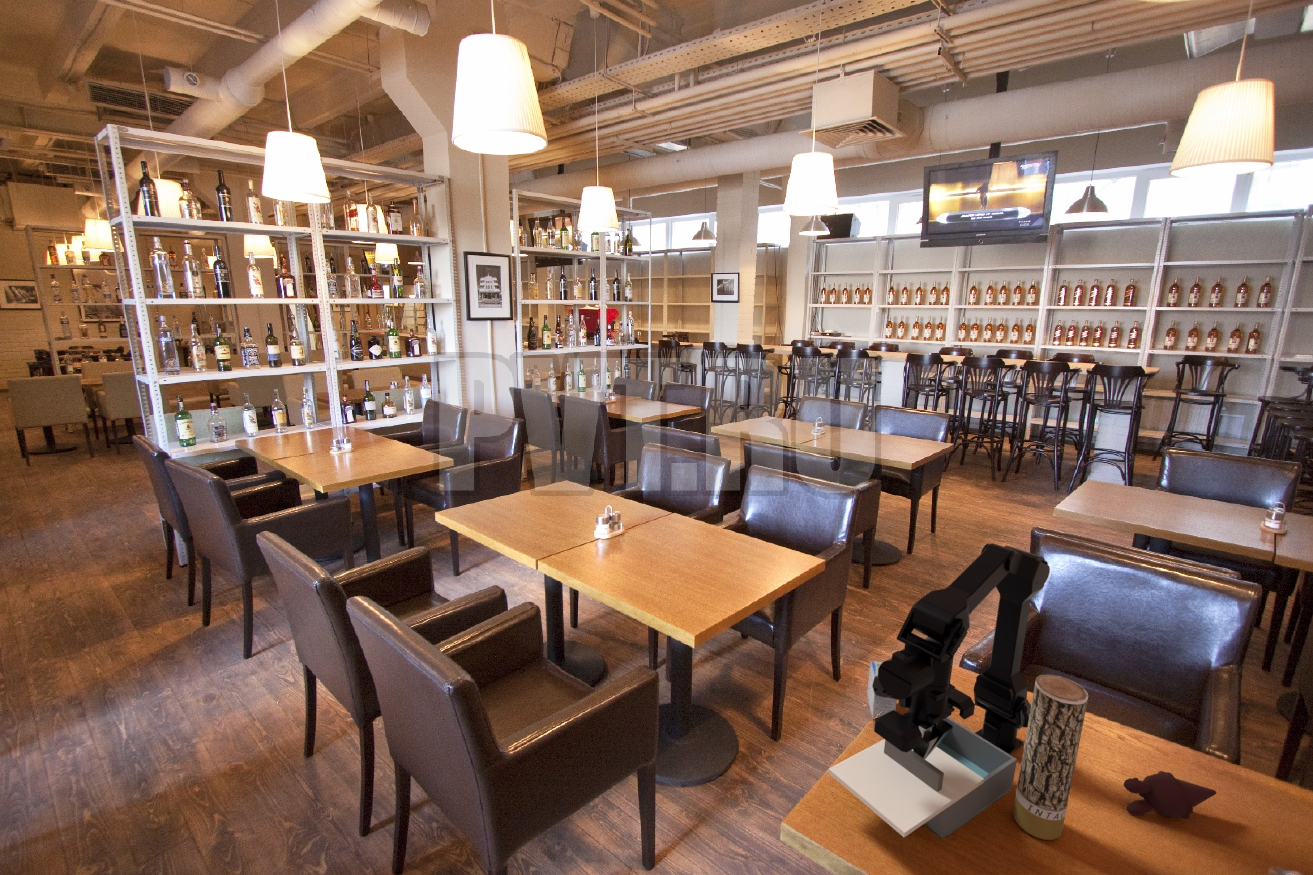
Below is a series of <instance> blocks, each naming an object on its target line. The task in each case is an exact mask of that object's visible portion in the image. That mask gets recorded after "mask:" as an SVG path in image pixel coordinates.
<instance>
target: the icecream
mask: <svg viewBox="0 0 1313 875" xmlns="http://www.w3.org/2000/svg"><path fill="white" fill-rule="evenodd" d="M1123 787H1124V788H1125V790H1127V791H1128V792H1130V793H1132V794H1136V795H1137V794H1138V796H1140V797H1141V798H1143V799H1135V800H1133V801H1131V802H1129V803H1128V804H1127V805H1126V811H1127V812H1128V813H1129V814H1131V815H1133V816H1144V815H1146V814H1148V813H1150V812H1151V811H1153V810H1154V811H1155V812H1157V813H1158V814H1159V815H1162V816H1164V817H1167V818H1175V819H1176V818H1177V819H1178V818H1179V819H1183V820H1189V819H1190V816H1191V814H1192V813H1193V812H1194V808H1195V807H1196V806H1199V805H1200V804H1201V803H1203V802H1205V801H1206V800H1208V799H1210V798H1212V797H1214V796H1215V795H1217V791H1216V790H1215V789H1212V788H1209V787H1206V786H1202V785H1199V784H1195V783H1193V782H1189V781H1185V780H1182V779H1179V778H1176V777H1175V776H1174V775H1173V774H1172V773H1171V772H1165V771H1162V770H1160V771H1158V773H1155V774H1151V775H1147V776H1145V777H1144V778H1143V780H1139V778H1138V777H1133V778H1127V779H1125V780H1124V782H1123Z"/></svg>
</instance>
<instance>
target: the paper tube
mask: <svg viewBox="0 0 1313 875" xmlns="http://www.w3.org/2000/svg"><path fill="white" fill-rule="evenodd" d="M1088 700H1089V694H1088V692H1087V690H1086V689H1085V688H1084V687H1083V686H1082V685H1080V684H1078V683H1077V682H1075V681H1073V680H1071V679H1069V678H1066V677H1064V676H1060V675H1056V674H1040V675H1038V676H1036V678H1035V682H1034V686H1033V693H1032V698H1031V703H1030V704H1031V709H1030V715H1029V721H1028V727H1027V728H1026V734H1025V740H1024V743H1023V752H1022V756H1021V762H1020V769H1019V772H1018V773H1019V774H1018V780H1017V785H1016V792H1015V799H1014V802H1013V803H1014V804H1013V810H1012V813H1013V818H1014V820H1015V822H1016V824H1018V826H1019V827H1020V828H1021V829H1022V830H1023V831H1024V832H1025V833H1027V834H1029V835H1031V836H1032V837H1035V838H1037V839H1040V840H1044V841H1053V840H1054V841H1055V840H1056V839H1058V838H1060V837H1061V835H1062V833H1063V828H1064V823H1065V817H1066V814H1067V808H1068V803H1069V798H1070V793H1071V788H1072V784H1073V777H1074V772H1075V767H1076V764H1077V763H1076V762H1077V758H1078V757H1077V756H1078V752H1079V747H1080V741H1081V737H1082V731H1083V728H1084V727H1083V726H1084V720H1085V717H1086V716H1085V715H1086V709H1087V705H1088Z"/></svg>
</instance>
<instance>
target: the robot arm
mask: <svg viewBox="0 0 1313 875" xmlns="http://www.w3.org/2000/svg"><path fill="white" fill-rule="evenodd" d="M1050 572H1051V568H1050V565H1049V563H1048V561H1047V560H1045V558H1044V556H1041V555H1038V554H1036V553H1032V552H1029V551H1025V550H1022V549H1019V548H1017V547H1014V546H1010V545H1005V546H1002V545H1000V544H997V543H994V542H993V543H988V542H987V543H986V544H984V546H983V547H982V550H981V552H980V554H979V555H978V556H977V557H976V558H975V559H974V560H973V561H972V562H971V563H970V564H969V565H968V566H967V567H966V568H965V569H964V570H963V571H962V572H961V573H960V574H959V575H958V576H957V577H956V578H955V579H954V580H952V582H951V583H950V584H949V585H948V586H947V587H945V588H941V589H935V590H931V591H930V592H927V593H926V594H925V595H923V596H922V597H921V598H920V599H918V600H917V601H916V602H914V604H913V605H912V606H911V609H910V610H909V611H908V612H909V613H907V614H908V615H907V616H906V618H905V620H904V622H903V624H902V626H901V628H900V631H899V632H898V634H897V635H896V640H897V641H899V642H900V643H902V644H904V648H903V649H901V650H897V651H894V652H893V653H892V654H891V657H889V658H888V659H887V660H884V661H882V662H883V663H882V664H881V665H880V667H879V668H878V676H876V677H874V681H873V685H872V687H873V690H874V693H875V694H876V695H877V696H881V697H884V698H887V697H888V698H892V699H896V700H897V701H898V704H897V705H898V706H899V707H902V708H903V709H908V711H907V712H905V713H903V714H901V713H899V712H897V710H896V711H895V710H892V711H889V712H887V713H885V714H883V715H881V716H879V717H877V718H875V719H874V722H873V732H874V733H876V735H878V736H880V737H881V738H882V739H885V740H886V741H888V742H889V743H891V744H892V745H893V746H895V747H896V748H898V749H899V750H900V751H902V752H909V751H911V750H912V749H913V751H914V752H915V753H916V754H918V755H919V756H921V757H922V758H924V759H926V758H927V757H928V756H929V754H930V753H931V752H932V751H933V750H934V748H935V747H936V746H937V745H938V744H939V743H940V742H941V740H942V739H943V738H944V737H945V736H946V735H947V734H948V733H949V732H950V731H951V730H952V729H953V726H952V725H951V724H949V723H948V722H946V721H945V719H946V718H947V717H950V716H952V713H954V712H955V709H957V710H959V714H958V716H959V717H960V718H961V719H963V720H964V721H965V720H967V719H968V718H970V717H973V716H974V713H975V708H976V707H979V708H981V709H983V710H985V711H984V718H983V724H982V728H980V729H978V730H977V731H975V732H974V733H975V734H977V735H979V736H980V737H982V738H983V739H985V740H987V741H988V742H990V743H992V744H993V745H995V746H996V747H998V748H1000V749H1001V750H1003V751H1005V752H1006V753H1008V754H1009V755H1012V753H1014V752H1015V751H1017V750H1018V749H1020V748H1021V747H1024V742H1023V741H1022V740H1021V739H1019V738H1017V736H1018V730H1020V729H1022V728H1026V729H1027V727H1028V721H1029V715H1030V709H1031V703H1030V701H1029V700H1028V684H1027V682H1026V680H1025V678H1024V676H1023V674H1022V672H1021V665H1022V658H1023V651H1024V646H1025V644H1024V643H1025V639H1026V632H1027V625H1028V619H1029V612H1030V606H1031V601H1032V598H1033V597H1035V596H1036V595H1037V594H1039V592H1040V591H1041V590H1043V589H1044V587H1045V583H1046V582H1047V580H1048V579H1049V576H1050ZM995 588H996V590H997V592H998V594H999V601H998V606H997V607H998V608H997V613H996V614H997V615H996V622H995V626H994V627H995V628H994V635H993V640H992V647H991V656H990V662H989V666H988V667H987V668H985V669H984V670H983V671H982V672H980V673H979V674H978V675H977V676H976V677H975V683H974V685H973V697H974V700H973V698H972V697H971V696H969V695H967V694H966V693H964V692H963V691H961V690H959V689H957V688H956V686H955V685H953V684H951V679H952V671H953V664H954V657H955V654H956V653H957V652H958V650H959V648H961V645H962V643H963V642H964V640H965V638H966V636H967V634H968V631H969V629H970V627H971V626H970V625H971V624H970V623H971V622H970V621H971V620H970V615H971V614H972V613H973V611H974V610H975V609H976V608H977V607H978V606H979V605H980V604H981V603H982V602H983V601H984V599H986V598H987V596H988V595H989V594H990V593H991V592H992V591H993V590H994V589H995ZM914 630H915V631H916V632H918V633H920V634H922V635H924V636H926V637H924V638H923V637H921V636H919V635H917V634H915V633H913V631H914Z"/></svg>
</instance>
